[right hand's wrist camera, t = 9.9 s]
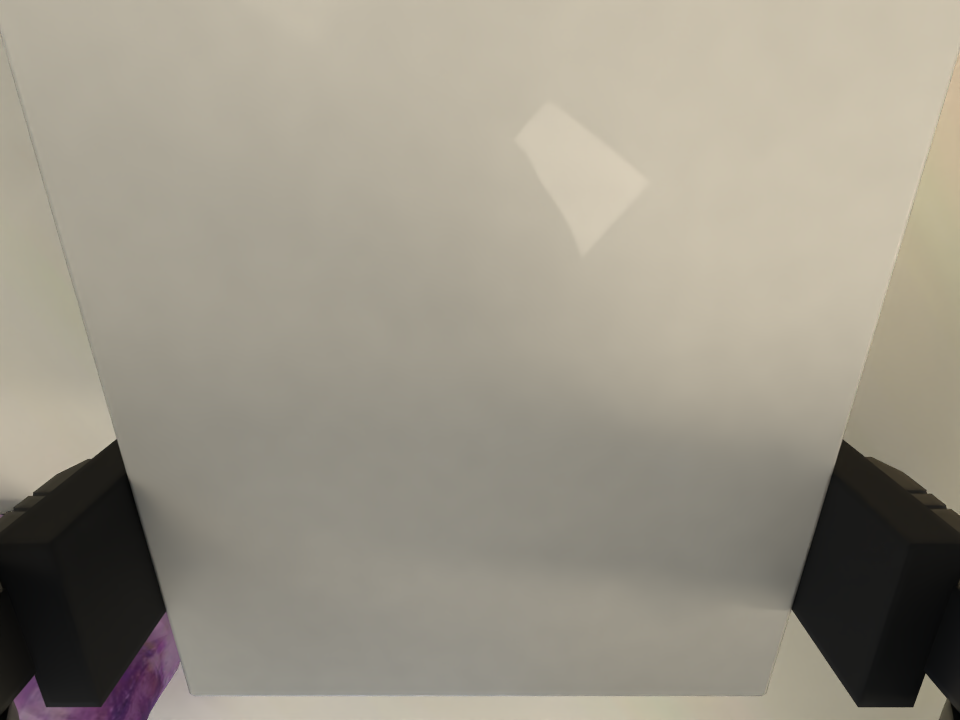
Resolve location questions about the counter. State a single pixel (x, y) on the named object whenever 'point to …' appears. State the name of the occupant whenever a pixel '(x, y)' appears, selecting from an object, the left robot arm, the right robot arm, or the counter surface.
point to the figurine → (131, 695)
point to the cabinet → (480, 317)
